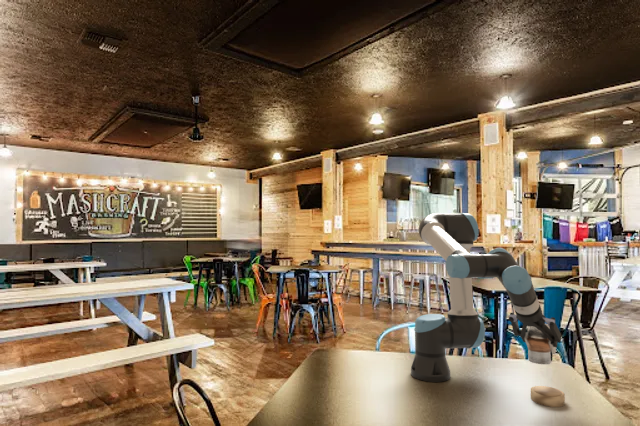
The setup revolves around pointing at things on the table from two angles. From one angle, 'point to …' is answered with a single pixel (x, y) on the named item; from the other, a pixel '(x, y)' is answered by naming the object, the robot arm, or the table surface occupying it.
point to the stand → (547, 396)
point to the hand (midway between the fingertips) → (542, 348)
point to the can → (538, 346)
